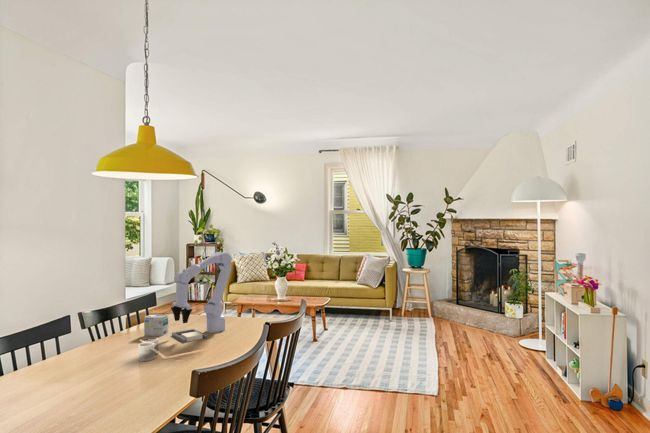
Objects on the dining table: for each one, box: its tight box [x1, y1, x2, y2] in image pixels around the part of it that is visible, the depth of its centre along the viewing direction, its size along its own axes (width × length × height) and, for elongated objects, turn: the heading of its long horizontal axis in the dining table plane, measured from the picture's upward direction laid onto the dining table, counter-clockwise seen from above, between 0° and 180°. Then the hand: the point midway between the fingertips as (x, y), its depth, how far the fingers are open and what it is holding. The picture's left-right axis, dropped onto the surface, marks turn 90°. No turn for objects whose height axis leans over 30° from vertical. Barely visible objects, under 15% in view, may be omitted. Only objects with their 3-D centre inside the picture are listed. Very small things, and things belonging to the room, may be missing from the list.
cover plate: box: [181, 330, 204, 343], centre depth 224 cm, size 8×8×2 cm
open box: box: [171, 328, 208, 344], centre depth 226 cm, size 12×17×2 cm
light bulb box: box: [143, 314, 169, 337], centre depth 233 cm, size 11×7×11 cm, turn 84°
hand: (181, 321), depth 225 cm, fingers open, 7 cm apart
